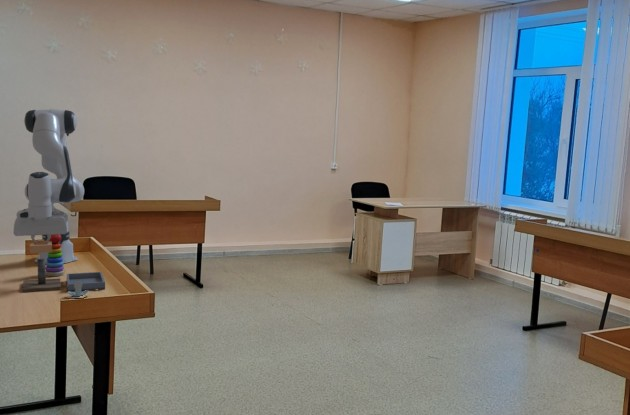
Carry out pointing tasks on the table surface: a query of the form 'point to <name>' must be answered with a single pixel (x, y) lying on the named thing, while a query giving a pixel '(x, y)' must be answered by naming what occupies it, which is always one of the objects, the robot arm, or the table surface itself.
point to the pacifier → (77, 290)
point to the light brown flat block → (41, 246)
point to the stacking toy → (55, 258)
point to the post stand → (41, 281)
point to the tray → (86, 281)
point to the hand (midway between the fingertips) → (41, 245)
